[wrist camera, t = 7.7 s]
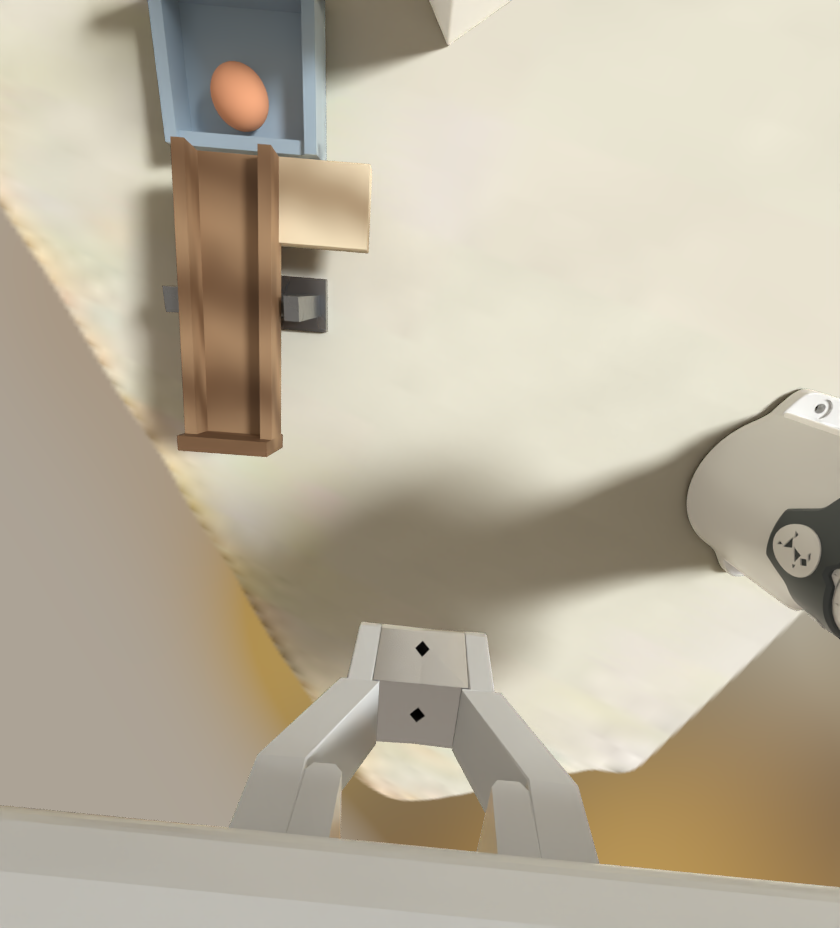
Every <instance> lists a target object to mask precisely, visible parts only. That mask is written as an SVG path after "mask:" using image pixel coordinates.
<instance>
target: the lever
mask: <svg viewBox="0 0 840 928" xmlns="http://www.w3.org/2000/svg"><path fill="white" fill-rule="evenodd" d="M170 141H171V161H172V181H173V201H174V221H175V241H176V261H177V281H178V301H179V321H180V341H181V361H182V381H183V402H184V422H185V433H184V434H181V435H178V436H177V443H178V450H181V451H194V452H208V453H221V454H234V455H247V456H261V457H267V456H269V455H271V454H272V453H274V452H276V451H277V450H279V449H281V448H282V447H283V434H281V316H284V301H281V246H285V247H297V248H309V249H321V250H334V251H346V252H358V253H368V250H369V228H370V206H371V183H372V169H371V165H370V164H362V163H350V162H338V161H326V160H314V159H302V158H291V157H279V156H278V155H277V153H276V152H275V150H274V149H273V147H272V146H271V145H267V144H257V155H247V154H235V153H223V152H211V151H199V150H196V149H195V148H194V147H193V146H192V145H191V144H190V143H189V142H188V141H187V140H186V139H185V138H184V137H173V136H170Z"/></svg>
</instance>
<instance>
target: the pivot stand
mask: <svg viewBox="0 0 840 928" xmlns="http://www.w3.org/2000/svg"><path fill="white" fill-rule="evenodd" d="M162 287H163V294H164V301H165V308H166V312H179V301H178V286H162ZM281 301H284V316H281V329H289V330H302V331H314V332H328V315H327V279H314V278H302V277H290V276H281Z"/></svg>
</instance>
